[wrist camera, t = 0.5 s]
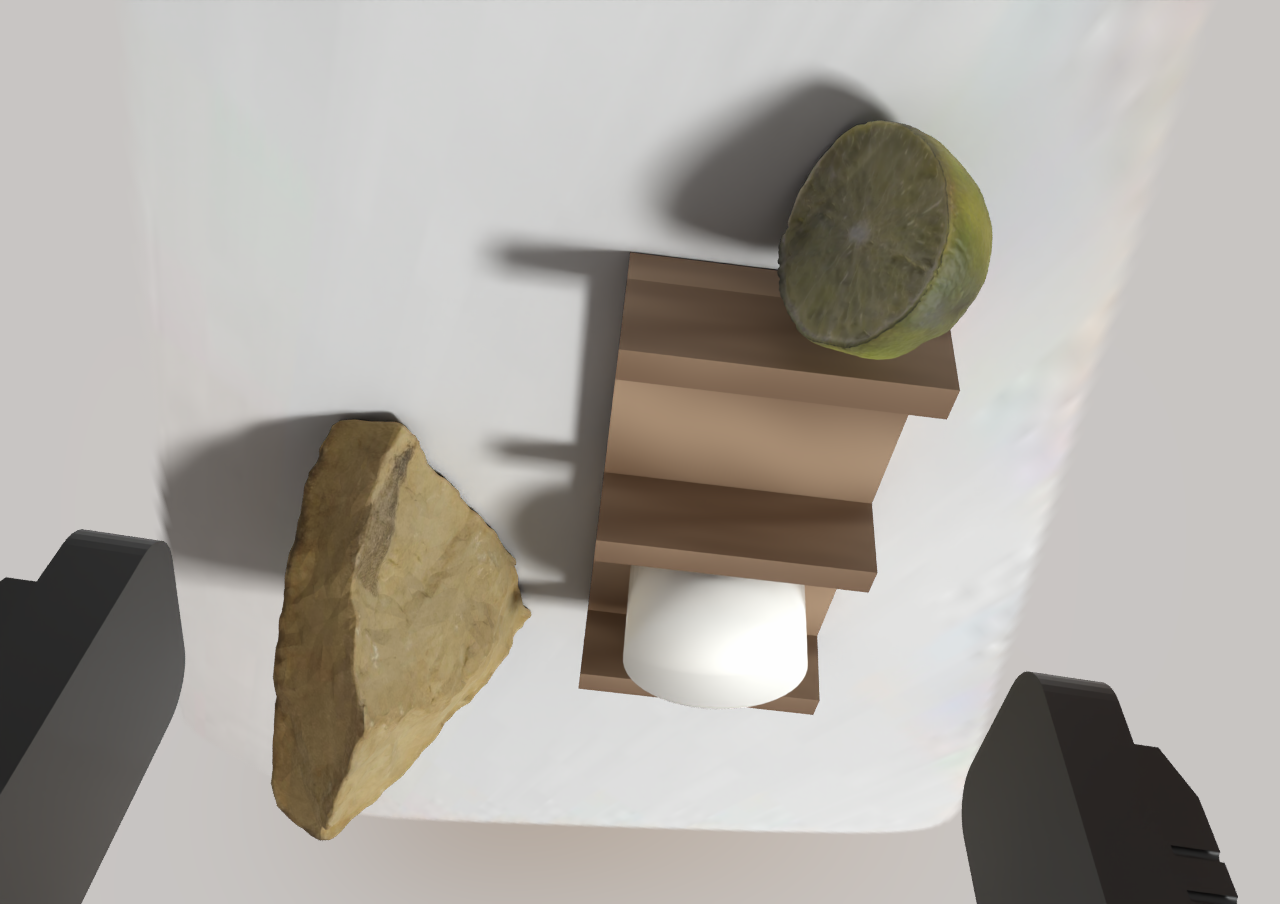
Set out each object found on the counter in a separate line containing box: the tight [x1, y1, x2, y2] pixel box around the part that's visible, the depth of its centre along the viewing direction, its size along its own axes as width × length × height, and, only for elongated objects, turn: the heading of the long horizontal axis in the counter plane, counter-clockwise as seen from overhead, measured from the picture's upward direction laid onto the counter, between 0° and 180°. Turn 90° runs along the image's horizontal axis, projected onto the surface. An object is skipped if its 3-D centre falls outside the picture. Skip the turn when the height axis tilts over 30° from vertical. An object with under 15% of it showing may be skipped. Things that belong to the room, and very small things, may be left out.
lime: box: [777, 120, 992, 360], centre depth 25 cm, size 4×5×5 cm
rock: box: [271, 419, 531, 840], centre depth 36 cm, size 11×9×10 cm
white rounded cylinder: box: [623, 565, 808, 709], centre depth 36 cm, size 6×6×4 cm
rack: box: [579, 252, 960, 715], centre depth 34 cm, size 16×8×4 cm, turn 174°
